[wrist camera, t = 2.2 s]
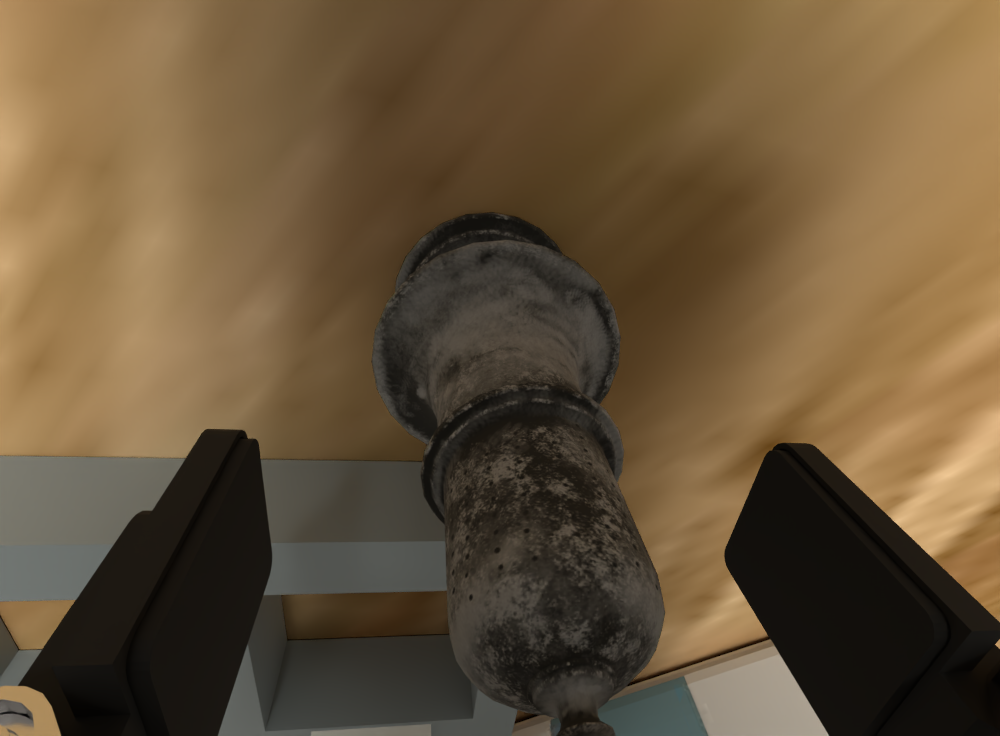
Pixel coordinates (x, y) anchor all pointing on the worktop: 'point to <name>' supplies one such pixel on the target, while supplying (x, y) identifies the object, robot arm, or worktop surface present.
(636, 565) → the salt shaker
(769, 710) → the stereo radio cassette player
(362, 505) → the socket board
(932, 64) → the worktop surface
